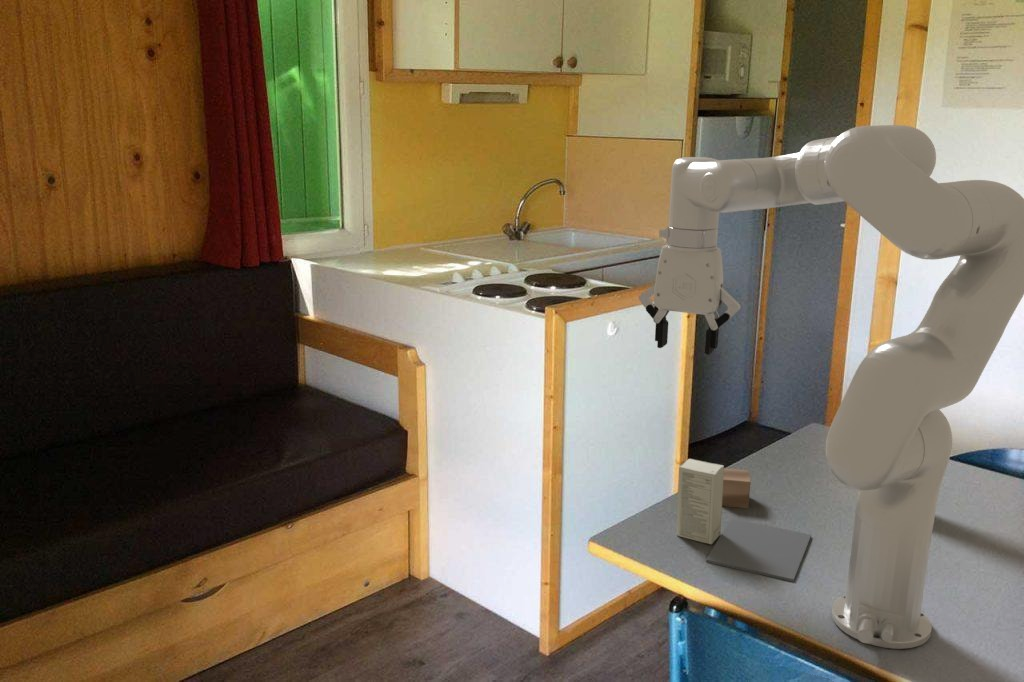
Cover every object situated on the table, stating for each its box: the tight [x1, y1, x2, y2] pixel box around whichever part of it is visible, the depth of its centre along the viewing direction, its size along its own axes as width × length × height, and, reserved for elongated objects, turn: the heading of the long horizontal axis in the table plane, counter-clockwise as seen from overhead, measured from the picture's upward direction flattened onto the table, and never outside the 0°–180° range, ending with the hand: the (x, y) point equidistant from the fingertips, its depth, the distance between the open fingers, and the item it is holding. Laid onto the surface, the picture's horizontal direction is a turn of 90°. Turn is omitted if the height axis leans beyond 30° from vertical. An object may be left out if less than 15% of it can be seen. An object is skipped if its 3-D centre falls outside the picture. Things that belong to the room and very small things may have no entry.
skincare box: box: [676, 458, 725, 545], centre depth 148 cm, size 6×4×12 cm
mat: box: [705, 518, 812, 583], centre depth 146 cm, size 16×13×1 cm
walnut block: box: [722, 468, 751, 509], centre depth 162 cm, size 5×5×5 cm
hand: (685, 348), depth 148 cm, fingers open, 7 cm apart
